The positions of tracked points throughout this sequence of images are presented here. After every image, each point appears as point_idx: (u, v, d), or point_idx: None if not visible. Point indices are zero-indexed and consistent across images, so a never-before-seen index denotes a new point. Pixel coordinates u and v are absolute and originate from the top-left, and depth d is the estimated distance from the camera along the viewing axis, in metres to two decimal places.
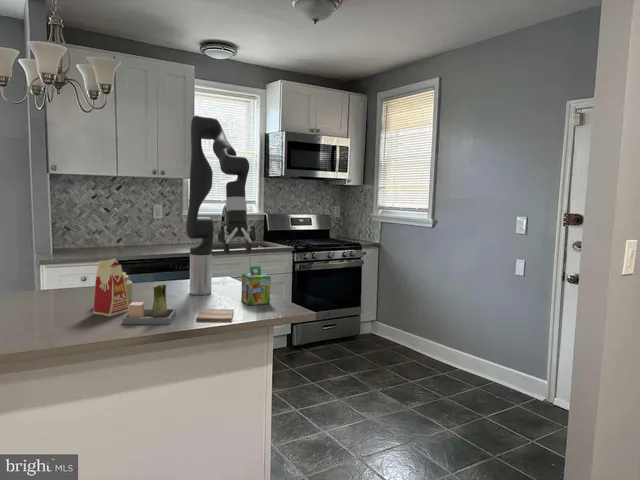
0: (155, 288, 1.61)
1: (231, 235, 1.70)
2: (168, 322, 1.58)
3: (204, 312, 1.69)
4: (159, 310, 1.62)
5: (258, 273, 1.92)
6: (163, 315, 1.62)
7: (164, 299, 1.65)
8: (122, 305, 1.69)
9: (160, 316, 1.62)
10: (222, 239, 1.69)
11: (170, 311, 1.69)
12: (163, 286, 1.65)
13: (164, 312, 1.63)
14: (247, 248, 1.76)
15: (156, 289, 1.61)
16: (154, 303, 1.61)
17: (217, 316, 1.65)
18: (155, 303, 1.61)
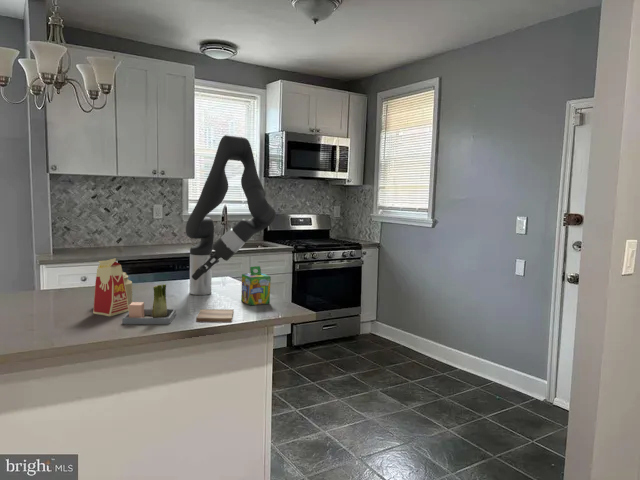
0: (155, 288, 1.61)
1: (211, 267, 1.61)
2: (168, 322, 1.58)
3: (204, 312, 1.69)
4: (159, 310, 1.62)
5: (258, 273, 1.92)
6: (163, 315, 1.62)
7: (164, 299, 1.65)
8: (122, 305, 1.69)
9: (160, 316, 1.62)
10: (206, 271, 1.58)
11: (170, 311, 1.69)
12: (163, 286, 1.65)
13: (164, 312, 1.63)
14: None
15: (156, 289, 1.61)
16: (154, 303, 1.61)
17: (217, 316, 1.65)
18: (155, 303, 1.61)
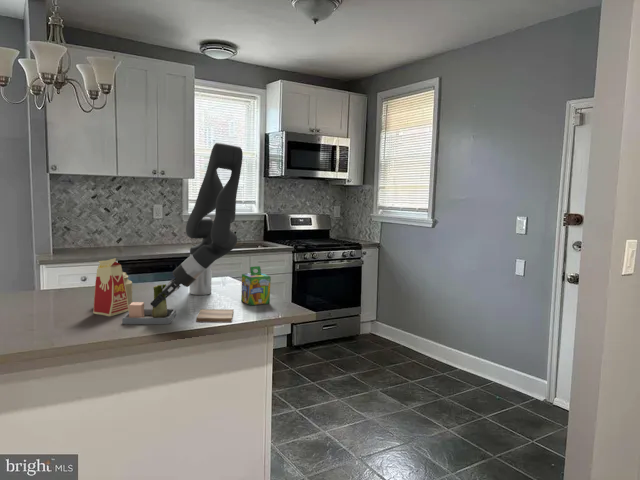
0: (155, 288, 1.61)
1: (171, 294, 1.61)
2: (168, 322, 1.58)
3: (204, 312, 1.69)
4: (159, 310, 1.62)
5: (258, 273, 1.92)
6: (163, 315, 1.62)
7: None
8: (122, 305, 1.69)
9: (160, 316, 1.62)
10: None
11: (170, 311, 1.69)
12: (163, 286, 1.65)
13: (164, 312, 1.63)
14: None
15: (156, 289, 1.61)
16: None
17: (217, 316, 1.65)
18: None
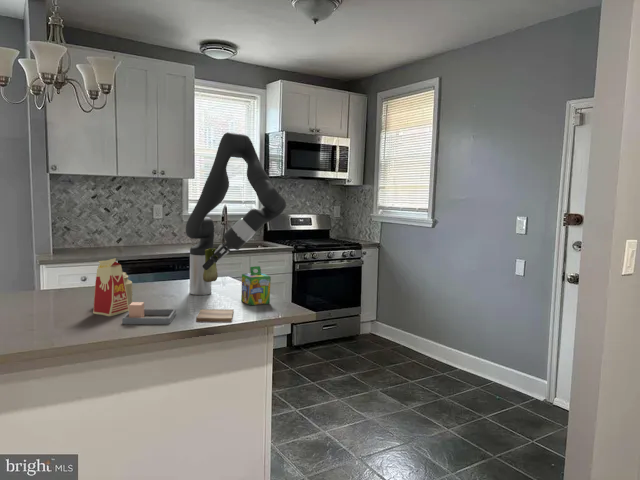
0: (206, 251, 1.63)
1: (222, 257, 1.64)
2: (168, 322, 1.58)
3: (204, 312, 1.69)
4: (210, 273, 1.64)
5: (258, 273, 1.92)
6: (214, 278, 1.65)
7: (214, 263, 1.67)
8: (122, 305, 1.69)
9: (211, 279, 1.64)
10: None
11: (170, 311, 1.69)
12: (213, 250, 1.67)
13: (215, 275, 1.65)
14: None
15: (207, 252, 1.63)
16: None
17: (217, 316, 1.65)
18: None
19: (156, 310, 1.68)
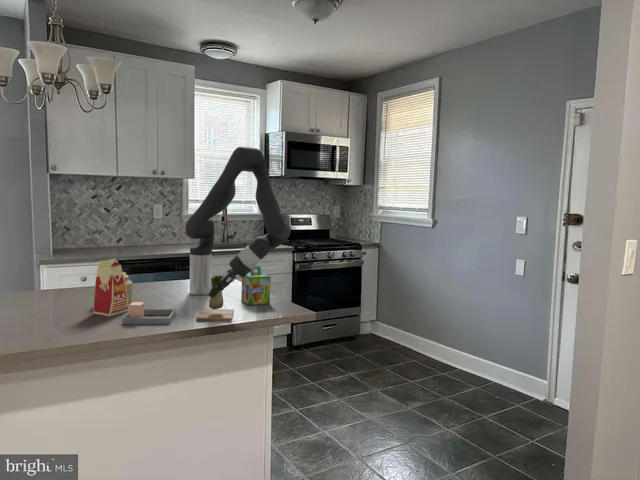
0: (213, 279, 1.65)
1: None
2: (168, 322, 1.58)
3: (204, 312, 1.69)
4: (216, 300, 1.66)
5: (258, 273, 1.92)
6: (220, 305, 1.66)
7: None
8: (122, 305, 1.69)
9: (217, 306, 1.66)
10: None
11: (170, 311, 1.69)
12: (219, 277, 1.69)
13: (221, 302, 1.67)
14: None
15: (214, 280, 1.65)
16: None
17: (217, 316, 1.65)
18: None
19: (156, 310, 1.68)
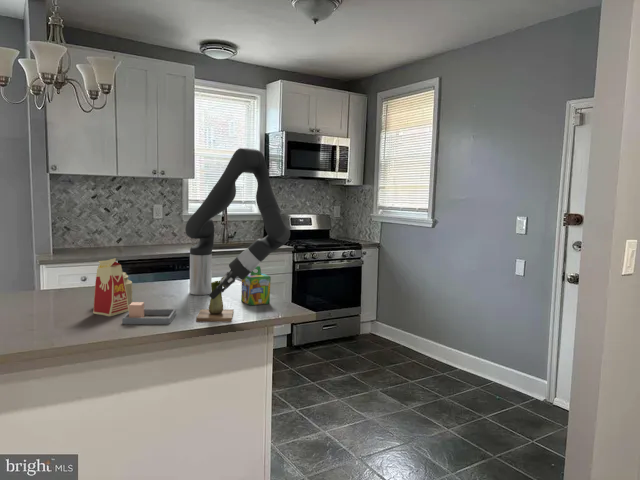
0: (213, 284, 1.65)
1: None
2: (168, 322, 1.58)
3: (204, 312, 1.69)
4: (216, 305, 1.66)
5: (258, 273, 1.92)
6: (220, 310, 1.67)
7: (220, 295, 1.69)
8: (122, 305, 1.69)
9: (217, 311, 1.66)
10: (223, 290, 1.61)
11: (170, 311, 1.69)
12: (219, 282, 1.69)
13: (221, 307, 1.67)
14: None
15: (214, 285, 1.65)
16: (212, 299, 1.65)
17: (217, 316, 1.65)
18: None
19: (156, 310, 1.68)
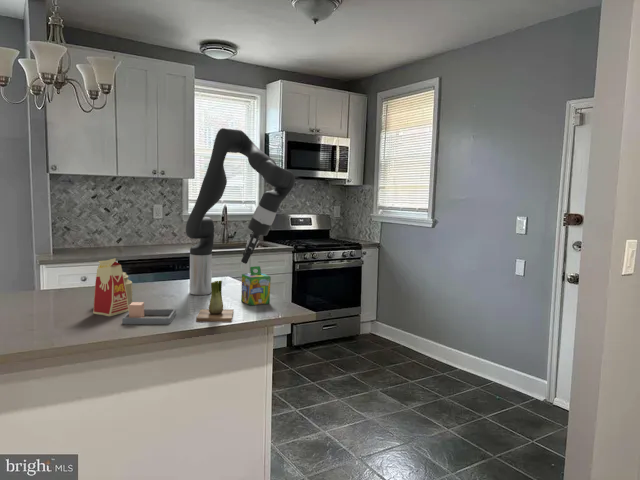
0: (213, 284, 1.65)
1: (255, 247, 1.68)
2: (168, 322, 1.58)
3: (204, 312, 1.69)
4: (216, 305, 1.66)
5: (258, 273, 1.92)
6: (220, 310, 1.67)
7: (220, 295, 1.69)
8: (122, 305, 1.69)
9: (217, 311, 1.66)
10: (252, 252, 1.64)
11: (170, 311, 1.69)
12: (219, 282, 1.69)
13: (221, 307, 1.67)
14: None
15: (214, 285, 1.65)
16: (212, 299, 1.65)
17: (217, 316, 1.65)
18: (213, 298, 1.65)
19: (156, 310, 1.68)
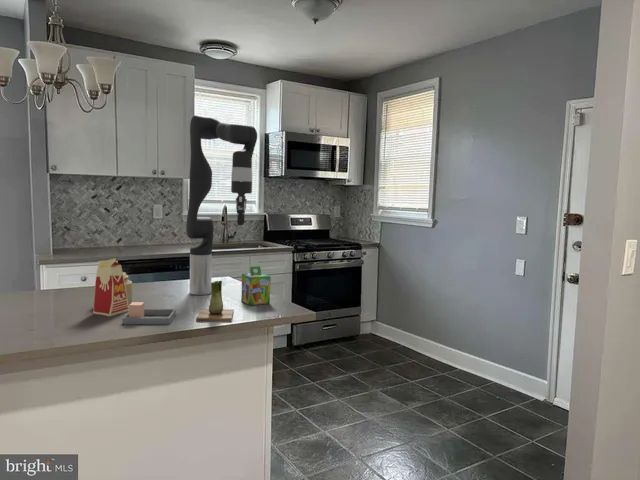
0: (213, 284, 1.65)
1: (245, 206, 1.70)
2: (168, 322, 1.58)
3: (204, 312, 1.69)
4: (216, 305, 1.66)
5: (258, 273, 1.92)
6: (220, 310, 1.67)
7: (220, 295, 1.69)
8: (122, 305, 1.69)
9: (217, 311, 1.66)
10: (243, 210, 1.67)
11: (170, 311, 1.69)
12: (219, 282, 1.69)
13: (221, 307, 1.67)
14: None
15: (214, 285, 1.65)
16: (212, 299, 1.65)
17: (217, 316, 1.65)
18: (213, 298, 1.65)
19: (156, 310, 1.68)
